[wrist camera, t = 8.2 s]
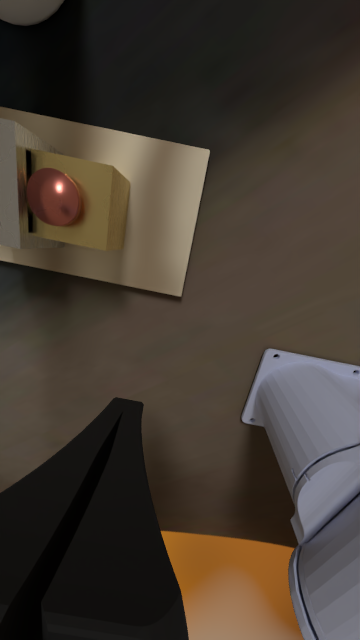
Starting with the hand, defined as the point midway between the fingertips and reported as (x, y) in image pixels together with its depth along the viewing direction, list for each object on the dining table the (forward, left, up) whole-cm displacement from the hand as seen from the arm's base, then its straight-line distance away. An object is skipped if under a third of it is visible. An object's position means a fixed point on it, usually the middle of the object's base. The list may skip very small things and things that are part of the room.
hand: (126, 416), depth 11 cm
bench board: (+8, -9, -10) cm, 16 cm away
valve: (+7, -9, -9) cm, 15 cm away
